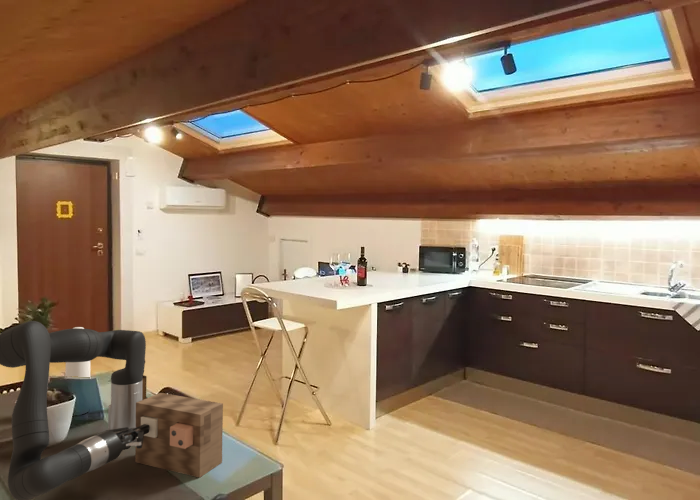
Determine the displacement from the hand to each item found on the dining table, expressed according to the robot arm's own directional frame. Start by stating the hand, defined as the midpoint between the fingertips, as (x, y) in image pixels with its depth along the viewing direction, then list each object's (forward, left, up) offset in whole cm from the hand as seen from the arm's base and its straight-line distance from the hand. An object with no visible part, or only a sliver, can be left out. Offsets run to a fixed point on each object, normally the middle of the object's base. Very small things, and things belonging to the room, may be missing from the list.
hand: (147, 427), depth 147 cm
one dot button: (0, +3, -2) cm, 4 cm away
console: (+6, +6, -11) cm, 14 cm away
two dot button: (+12, 0, -2) cm, 12 cm away
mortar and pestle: (-37, +37, -11) cm, 53 cm away
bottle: (-52, +23, -11) cm, 58 cm away
